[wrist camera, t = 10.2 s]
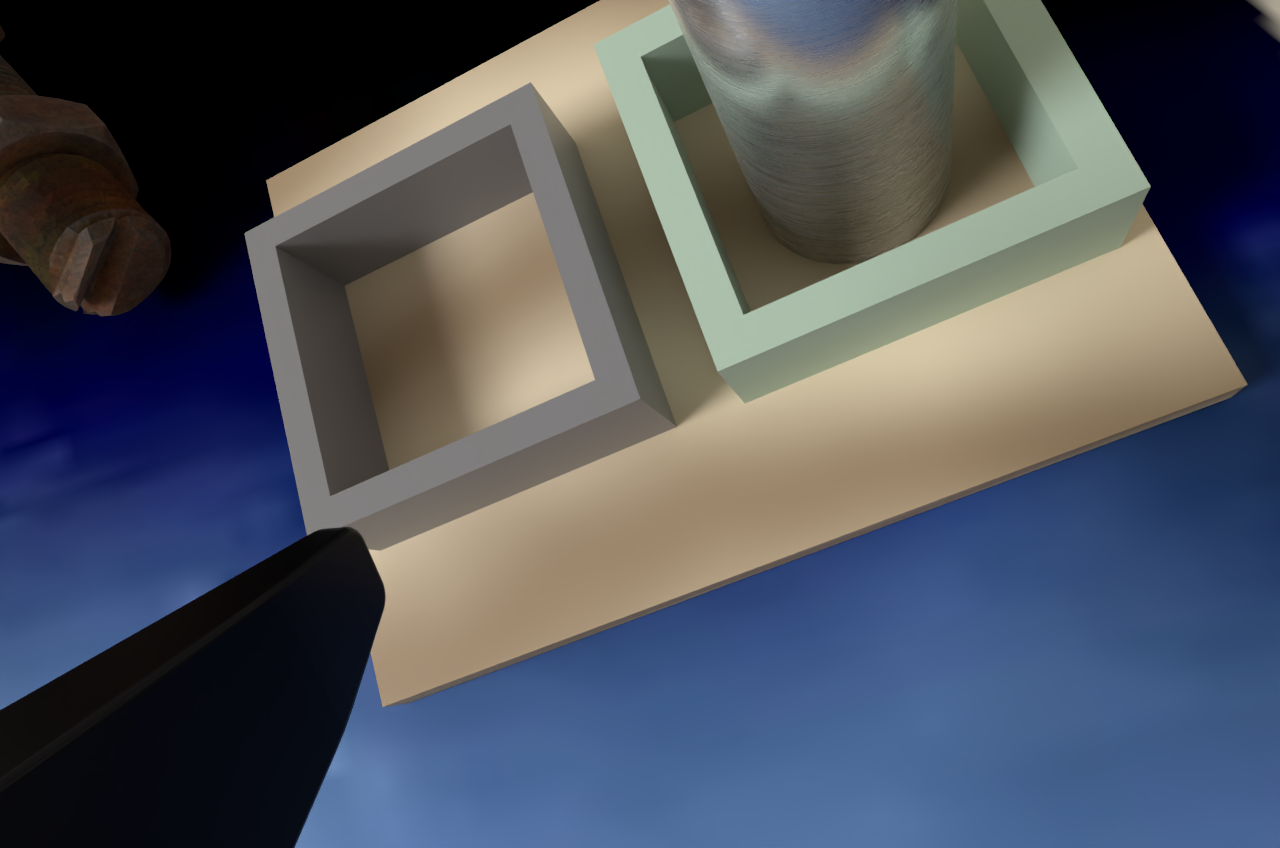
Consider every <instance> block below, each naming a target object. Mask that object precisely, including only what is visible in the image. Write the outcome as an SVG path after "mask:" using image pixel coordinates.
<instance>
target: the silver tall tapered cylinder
mask: <svg viewBox="0 0 1280 848" xmlns="http://www.w3.org/2000/svg"><path fill="white" fill-rule="evenodd" d="M668 1H669V3H670V6H671V8H672V10H673V13H674V15H675V17H676V20H677V22H678V24H679V26H680V29H681V31H682V33H683V36H684V38H685V40H686V43H687V45H688V47H689V50H690V52H691V54H692V57H693V59H694V61H695V64H696V66H697V68H698V70H699V73H700V75H701V77H702V80H703V82H704V84H705V87H706V89H707V91H708V94H709V96H710V98H711V101H712V103H713V105H714V107H715V110H716V112H717V114H718V117H719V119H720V121H721V124H722V126H723V128H724V131H725V133H726V135H727V138H728V140H729V142H730V145H731V147H732V149H733V151H734V154H735V156H736V158H737V161H738V163H739V165H740V168H741V170H742V172H743V175H744V177H745V179H746V182H747V184H748V186H749V188H750V191H751V193H752V195H753V198H754V200H755V202H756V205H757V207H758V209H759V212H760V214H761V216H762V218H763V220H764V222H765V224H766V226H767V227H768V229H769V230H770V232H771V233H772V234H773V235H774V236H775V237H776V238H777V239H778V241H780V242H781V243H782V244H783V245H784V246H786V247H787V248H788V249H790V250H792V251H793V252H795V253H797V254H798V255H801V256H803V257H805V258H808V259H811V260H814V261H818V262H821V263H828V264H843V265H847V264H857V263H863V262H865V261H867V260H870V259H872V258H874V257H877V256H879V255H881V254H883V253H886V252H888V251H890V250H893V249H895V248H897V247H899V246H902V245H904V244H906V243H908V242H910V241H912V240H913V239H914V238H915V237H916V236H918V235H919V234H920V233H921V232H922V231H923V230H924V229H925V228H926V227H927V226H928V225H929V223H930V222H931V220H932V219H933V218H934V216H935V215H936V214H937V212H938V210H939V208H940V206H941V205H942V203H943V200H944V198H945V195H946V193H947V190H948V186H949V181H950V174H951V158H952V131H953V105H954V78H955V51H956V24H957V0H668Z"/></svg>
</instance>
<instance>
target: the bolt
mask: <svg viewBox="0 0 1280 848" xmlns="http://www.w3.org/2000/svg"><path fill="white" fill-rule="evenodd" d="M4 37H5V33H4V31H3V30H2V28H1V26H0V42H1V41H2V39H3V38H4ZM138 191H139V188H138V185H137V182H136V180H135V177H134V175H133V173H132V171H131V169H130V167H129V165H128V163H127V161H126V159H125V157H124V155H123V154H122V152H121V150H120V148H119V146H118V145H117V143H116V141H115V140H114V138H113V137H112V135H111V133H110V132H109V130H108V128H107V127H106V125H105V124H104V123H103V122H102V121H101V120H100V119H99V118H98V117H97V116H96V115H95V114H94V113H93V112H92V110H91V109H90V108H89V107H88V106H87V105H84V104H80V103H75V102H71V101H66V100H62V99H56V98H49V97H42V96H37V95H36V93H35V92H34V91H33V90H32V89H31V88H30V87H29V85H28V84H26V82H25V81H24V80H23V79H22V78H21V77H20V76H19V75H18V74H17V73H16V71H14V70H13V69H12V67H11V66H10V65H9V64H8V63H7V62H6V61H5V60H4V59H3V58H2V57H1V56H0V263H7V264H15V265H27V266H29V267H30V268H31V269H32V271H33V272H34V273H35V275H36V276H37V277H38V278H39V279H40V281H41V283H42V284H44V285H45V287H46V288H47V289H48V290H49V291H50V293H51V294H52V295H53V297H54V298H55V299H56V300H57V301H58V302H59V303H61V304H62V305H63V306H65V307H67V308H69V309H72V310H74V311H75V310H76V311H77V310H78V309H79V307H80V306H82V308H83V313H86V314H99V315H100V316H112V315H119V314H122V313H124V312H127V311H130V310H131V309H132V308H134V307H135V306H136V305H138V304H139V303H140V302H142V301H143V300H144V299H146V298H147V297H148V296H149V295H150V294H151V293H152V292H153V291H154V290H155V288H156V287H157V286H158V285H159V283H160V282H161V281H162V280H163V278H164V277H165V275H166V273H167V271H168V269H169V266H170V262H171V244H170V239H169V237H168V235H167V233H166V231H165V230H164V229H163V228H162V227H161V226H160V225H159V224H158V223H157V222H156V221H155V220H154V219H153V218H152V216H151V215H149V214H148V213H147V212H146V211H145V210H144V209H143V208H142V207H141V205H140V204H139V202H137V201H136V198H137V195H138Z"/></svg>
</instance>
